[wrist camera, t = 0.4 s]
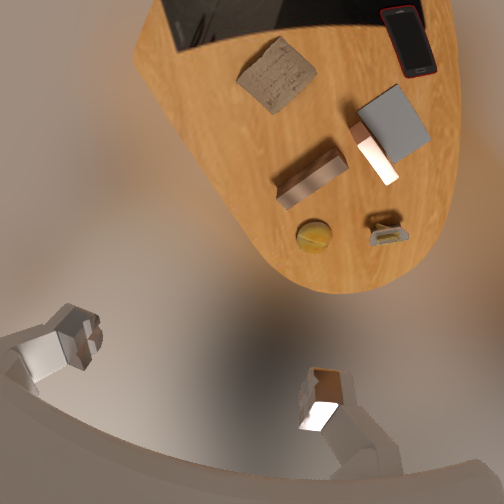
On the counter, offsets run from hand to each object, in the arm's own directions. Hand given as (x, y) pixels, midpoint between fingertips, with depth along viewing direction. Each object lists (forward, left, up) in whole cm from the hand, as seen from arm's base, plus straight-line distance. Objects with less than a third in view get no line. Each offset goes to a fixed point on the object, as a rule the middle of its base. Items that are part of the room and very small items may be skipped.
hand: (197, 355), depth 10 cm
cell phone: (-26, +8, -52) cm, 59 cm away
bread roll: (+18, +32, -52) cm, 64 cm away
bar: (+8, +18, -51) cm, 55 cm away
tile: (-6, +20, -51) cm, 55 cm away
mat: (-13, +20, -51) cm, 57 cm away
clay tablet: (-1, -2, -52) cm, 52 cm away
